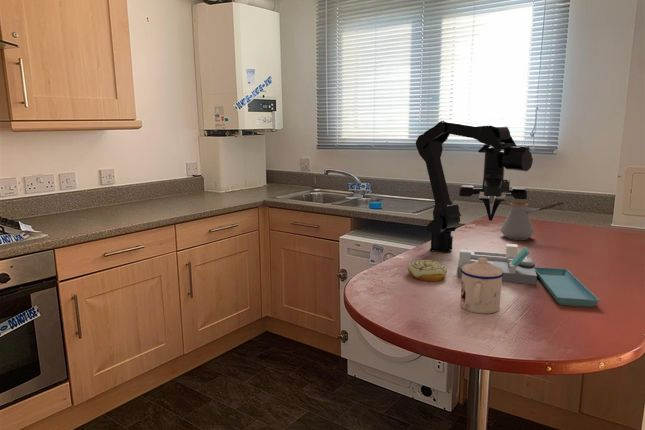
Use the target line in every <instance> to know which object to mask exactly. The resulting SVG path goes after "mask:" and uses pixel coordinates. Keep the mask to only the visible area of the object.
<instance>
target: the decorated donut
mask: <svg viewBox="0 0 645 430" xmlns="http://www.w3.org/2000/svg"><path fill="white" fill-rule="evenodd" d="M447 269H448V268H447V266H446V265H445V264H443V263H442V262H439V261H435V260H431V259H423V260H422V259H421V260H419V259H418V260H414V261H411V262H409V264H408V265H407V270H408V273H409V274H410V276H411V277H413V278H414V279H417V280H420V281H425V282H439V281H442V280H443V279H444V278H445V277H446V275H447V272H448V271H447Z"/></svg>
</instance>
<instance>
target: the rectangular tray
mask: <svg viewBox="0 0 645 430" xmlns="http://www.w3.org/2000/svg"><path fill="white" fill-rule="evenodd" d="M534 269H535V271H536V274H537V278H538V279H539V280H540V282H541V283H542V285H543V286H544V287H545V289H546V290H547V291H548V292H549V294H551V296H552V297H553V299H554V300H555V301H556V302H557V303H558V304H559V305H561V306H571V307H572V306H573V307H575V306H576V307H586V308H587V307H588V308H594V307H595V306H596V305H597V304H598V303H599V302H600V301H601V299H600V298H599V297H597V296H596V295H595V294H594V293H593V292H592V291H591V290H590V289H589V288H588V287H587V286H585V285H584V283H582V282H581V281H580V280H579V279H578V278H577V277H576V276H575V275H574V274H573V273H572V272H571V271H570V270H569V269H567V268H559V267H557V268H555V267H539V266H538V267H537V266H535V267H534Z"/></svg>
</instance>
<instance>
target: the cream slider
mask: <svg viewBox="0 0 645 430" xmlns="http://www.w3.org/2000/svg"><path fill="white" fill-rule="evenodd" d="M505 246H506V248H505V253H506V257H511V258H515V257H516V256H517V255H518V254H519V252H518V251H519V245H518V244H514V243H513V244H512V243H506V245H505Z"/></svg>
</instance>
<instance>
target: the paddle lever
mask: <svg viewBox="0 0 645 430" xmlns="http://www.w3.org/2000/svg"><path fill="white" fill-rule="evenodd" d="M529 254H530V251H529V248H527V247H526V246H524V247H523V248H522V249H521V250H520V251H519V252H518V255H517V256H516V257H515V258H514V259H513V260H512V261H510V262H509V265H514V266H516V267H517V266H518V265H519V264H520V263H521V262H522V261H523V259H524V258H525V257H528V255H529Z"/></svg>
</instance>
